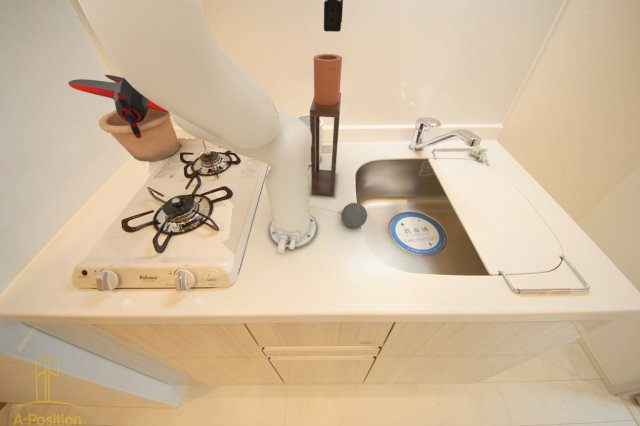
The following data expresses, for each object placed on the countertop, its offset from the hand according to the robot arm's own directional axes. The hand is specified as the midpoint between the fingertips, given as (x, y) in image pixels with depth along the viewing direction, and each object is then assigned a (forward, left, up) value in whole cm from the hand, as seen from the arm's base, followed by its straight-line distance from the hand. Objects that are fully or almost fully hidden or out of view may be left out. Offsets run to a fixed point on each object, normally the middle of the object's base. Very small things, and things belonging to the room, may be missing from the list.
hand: (333, 26), depth 44 cm
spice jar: (-1, +1, -14) cm, 14 cm away
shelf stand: (-1, +1, -41) cm, 41 cm away
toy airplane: (+11, +61, -14) cm, 64 cm away
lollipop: (-17, -1, -35) cm, 39 cm away
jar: (+13, +8, -41) cm, 44 cm away
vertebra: (+20, -56, -40) cm, 72 cm away
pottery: (+13, +70, -41) cm, 82 cm away
